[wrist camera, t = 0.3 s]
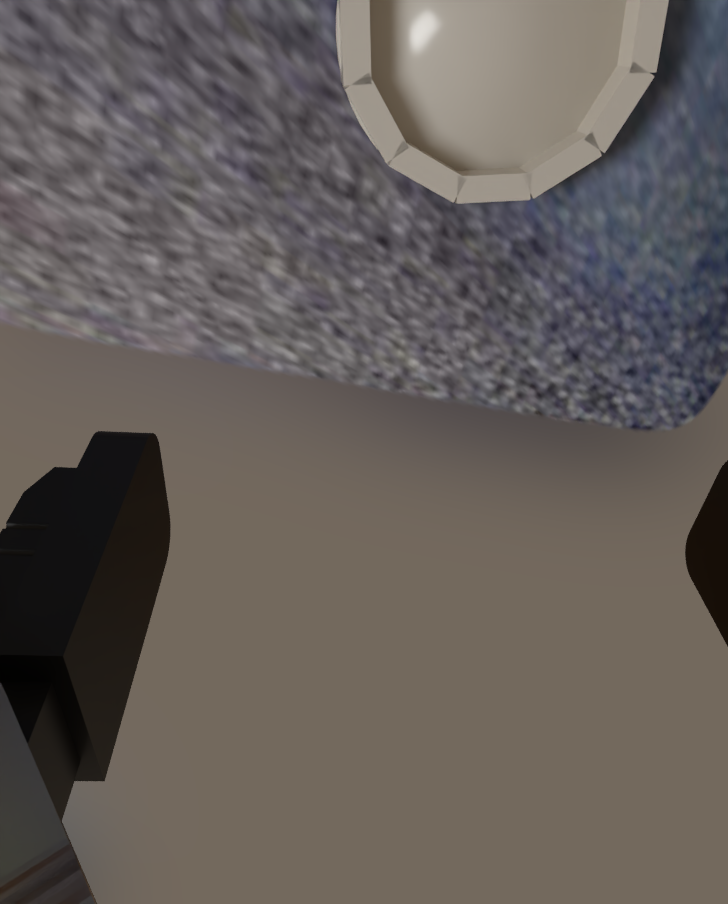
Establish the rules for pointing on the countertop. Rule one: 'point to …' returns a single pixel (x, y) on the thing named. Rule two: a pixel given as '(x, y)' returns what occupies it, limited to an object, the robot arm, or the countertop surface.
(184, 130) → the countertop surface
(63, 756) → the robot arm
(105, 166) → the countertop surface
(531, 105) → the dish
